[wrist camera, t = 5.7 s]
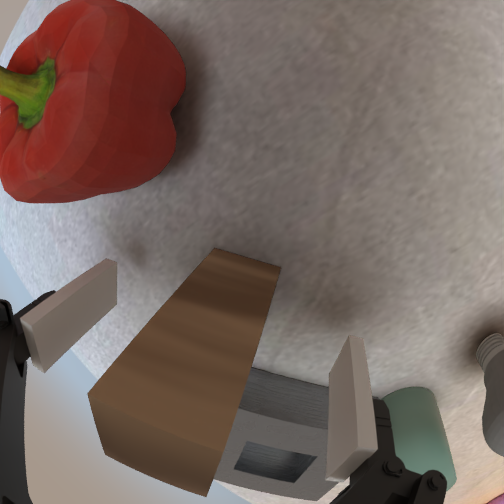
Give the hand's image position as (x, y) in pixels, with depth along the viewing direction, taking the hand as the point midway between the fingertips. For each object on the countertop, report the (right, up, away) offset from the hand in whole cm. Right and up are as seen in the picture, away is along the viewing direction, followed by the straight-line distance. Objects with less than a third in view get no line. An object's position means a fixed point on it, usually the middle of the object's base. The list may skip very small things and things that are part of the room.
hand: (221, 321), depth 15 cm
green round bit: (+14, -9, +5) cm, 17 cm away
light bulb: (+19, -3, +2) cm, 19 cm away
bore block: (+4, -11, +7) cm, 14 cm away
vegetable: (-6, +12, +1) cm, 14 cm away
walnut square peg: (+1, +1, +4) cm, 4 cm away
